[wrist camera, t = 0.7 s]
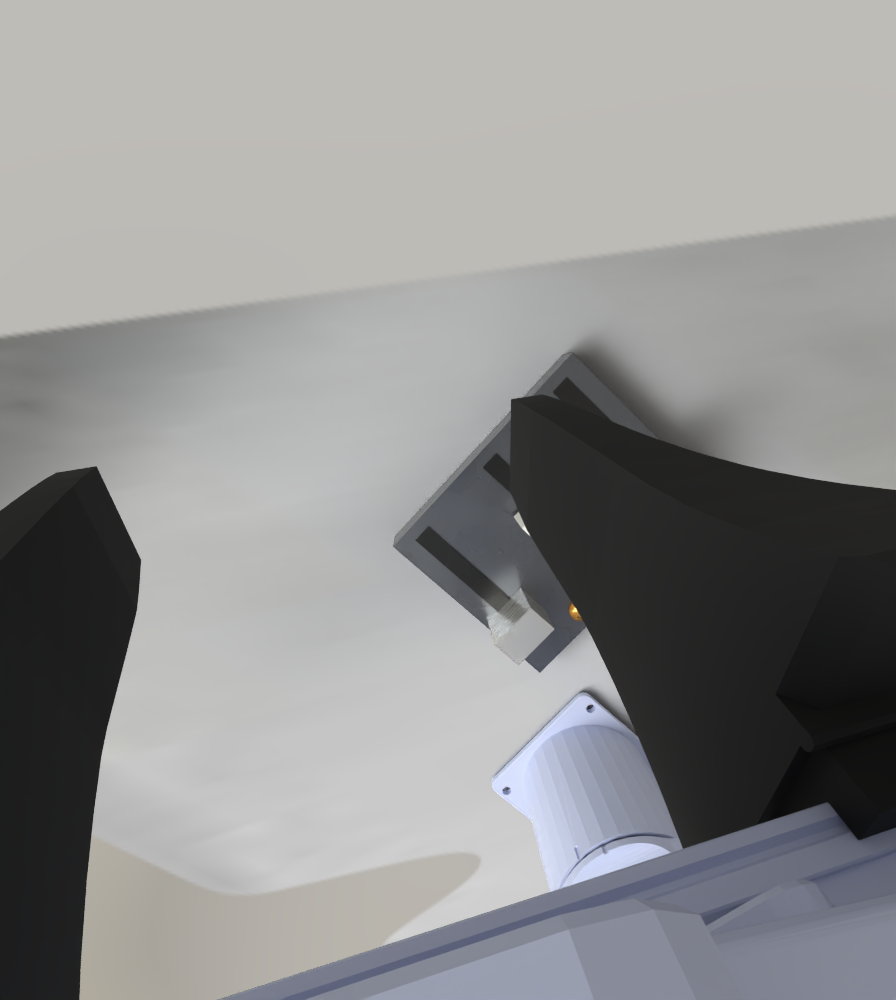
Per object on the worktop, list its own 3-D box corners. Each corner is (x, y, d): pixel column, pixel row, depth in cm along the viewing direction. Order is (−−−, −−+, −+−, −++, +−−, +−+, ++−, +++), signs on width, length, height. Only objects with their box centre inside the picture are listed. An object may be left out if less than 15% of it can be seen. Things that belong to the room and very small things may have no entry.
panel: (697, 489, 32) (746, 507, 27) (533, 655, 33) (551, 700, 28) (562, 354, 30) (589, 349, 25) (394, 536, 31) (390, 563, 27)
